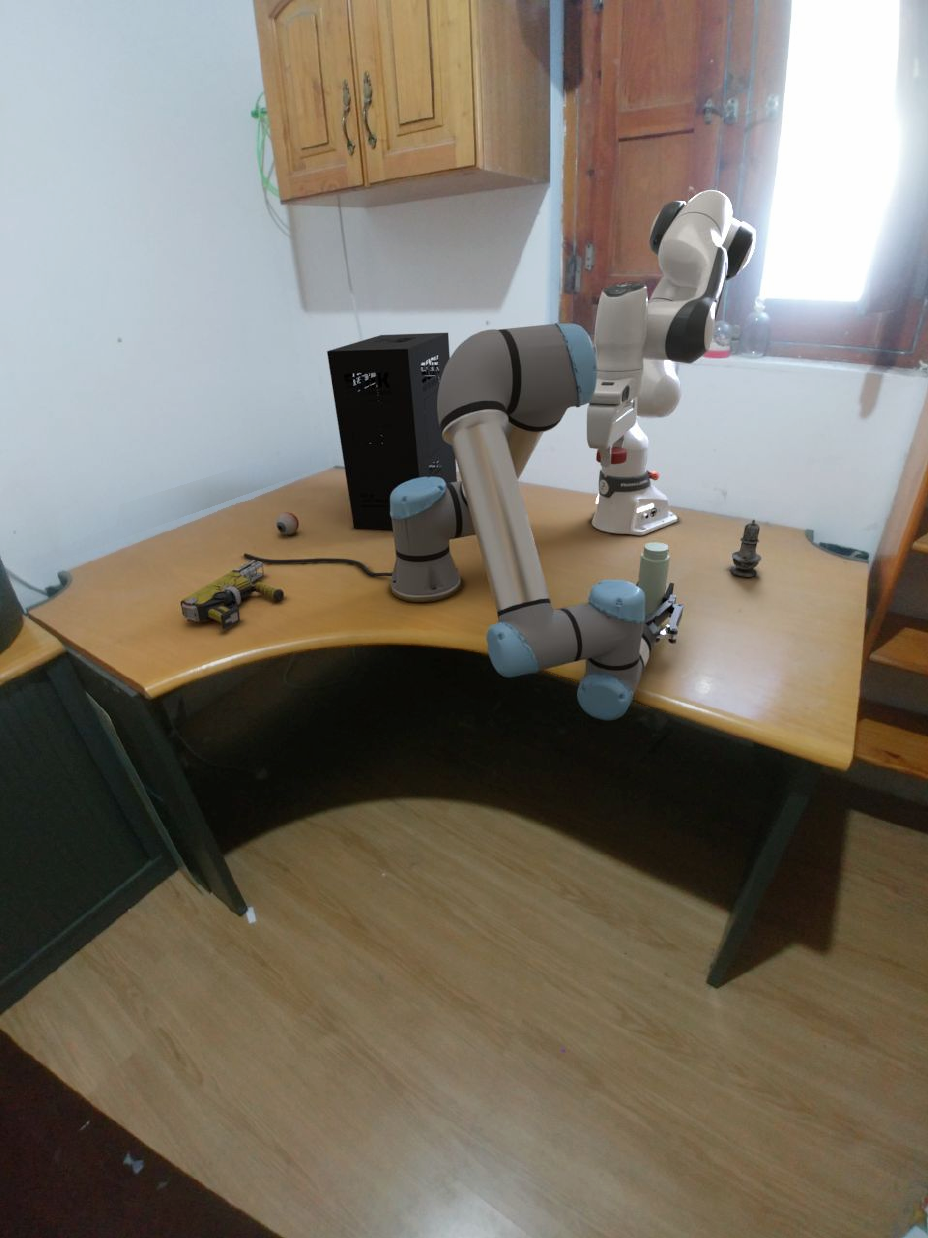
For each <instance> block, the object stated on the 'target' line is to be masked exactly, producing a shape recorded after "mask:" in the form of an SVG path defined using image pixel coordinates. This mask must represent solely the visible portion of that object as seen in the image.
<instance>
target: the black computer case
mask: <svg viewBox="0 0 928 1238" xmlns="http://www.w3.org/2000/svg"><path fill="white" fill-rule="evenodd" d="M326 354H327V360H328V369H329V373H330V380H331V387H332V393H333V400H334V406H335V415H336V420H337V426H338V427H337V428H338V433H339V439H340V440H339V441H340V448H341V454H342V460H343V466H344V472H345V478H346V486H347V493H348V500H349V506H350V511H351V520H352V525H353V529H360V530H361V529H362V530H363V529H364V530H366V529H367V530H389V531H393V526H392V518H391V516H390V496H391V493H392V491H393V490H394V489H395V488H396V487H397V486H399V485H400V484H402V483H404V482H407V481H409V480H412V479H416V478H421V477H427V478H428V477H439V478H442V479H443V480H444V481H445V483H446V484H447V483H452V482H458V478H457V477H458V475H457V462H456V458H455V454H454V450H453V447H452V445H450V444H448V443H446V442H445V441H444V439H443V437H442V433H441V429H440V425H439V421H438V412H437V397H438V390H439V385H440V381H441V377H442V374H443V371H444V369H445V366H446V364H447V362H448V360H449V359H450V357H451V354H450V341H449V332H427V333H400V334H399V333H397V334H395V333H394V334H379V335H377V336H373V337H370V338H367V339H363V340H359V341H356V342H353V343H350V344H347V345H342V346H340V347H336V348H333V349H330V350H327V351H326ZM429 361H430V362H429ZM436 363H437V364H436Z"/></svg>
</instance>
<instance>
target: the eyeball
mask: <svg viewBox="0 0 928 1238" xmlns="http://www.w3.org/2000/svg"><path fill="white" fill-rule="evenodd" d="M299 525H300V522H299V519H298V517H297V516H296V515H295V514H294V513H292V512H287V511H286V512H282V513H280V514H279V515H278V516H277V517H276V520H275V527H276V529H277V530H278V531H279V532H280V533H281V534H282V535H285V536H286V535H287V536H289V535H293V534H295V533H296V532H297V531H298V529H299Z"/></svg>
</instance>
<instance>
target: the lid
mask: <svg viewBox="0 0 928 1238" xmlns="http://www.w3.org/2000/svg"><path fill="white" fill-rule="evenodd" d="M595 455H596V456H595V457H596V458H595V460H596V462H597V463H599V464H601V456H600V452H599V449H596V454H595ZM611 456H612V464H621V463H624V462H625V461H626V458H627V450H626V449H625V448H622V447H613V446H612V449H611Z"/></svg>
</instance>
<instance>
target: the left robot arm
mask: <svg viewBox="0 0 928 1238" xmlns="http://www.w3.org/2000/svg"><path fill="white" fill-rule="evenodd" d="M594 347H595V346H594V344H593V341H592V339H591V337H590V335H589V334H588V332H587V331H586V330H585V328H583V327H582V325H580V324H576V323H560V322H554V323H549V324H539V325H529V326H520V327H519V326H518V327H510V328H501V329H500V328H499V329H496V328H495V329H494V328H493V329H485V330H482V331H479V332H476V333H474V334H472V335H470V336H468V337H467V338H466V339H464V340H463V341H462V342H461V343H460V344H459V345H458V346H457V347H456V349H455V350H454V351H453V352H452V354H451V355H450V359H449V360H448V362H447V364H446V366H445V369H444V371H443V374H442V377H441V381H440V385H439V390H438V397H437V412H438V421H439V425H440V429H441V433H442V437H443V439H444V441H445V442H446V443H448V444H450V445H452V447H453V450H454V454H455V458H456V466H457V469H458V472H459V477H460V481H459V480H457V482H452V483H447V484H446V483H445V481H444V480H443V479H442V478H439V477H428V478H427V477H421V478H416V479H412V480H409V481H407V482H404V483H402V484H400V485H399V486H397V487H396V488H395V489H394V490H393V491H392V493H391V496H390V516H391V518H392V526H393V530H392V535H393V543H394V551H395V560H394V561H395V562H394V565H393V570H392V572H375V571H370V569H369V568H367V566H366V564H364V563H362V562H360V561H358V560H354V559H350V558H334V557H333V558H332V557H331V558H329V557H325V558H324V557H319V558H299V559H297V558H296V559H294V558H293V559H291V558H290V559H268V558H262V557H259V556H258V557H257V556H256V555H255V556H254V555H252V554H249V553H246V552H245V553H244V554H243V556H244V557H246V558H247V559H251V560H255V561H256V562H257V561H260V562H262V563H270V564H293V563H294V564H296V563H297V564H298V563H300V564H301V563H321V562H325V563H329V562H330V563H349V564H353V565H356V566H359V567H361V568H362V570H363V571H364V573H367V575H370V576H372V577H391V578H390V586H391V593H392V594H393V595H394V596H395V597H396V598H398V599H399V600H402V601H405V602H411V603H432V602H437V601H438V602H439V601H441V600H444V599H447V598H449V597H451V596H453V595H454V594H456V593H457V592H458V591H459V589H460V588H461V576H460V572H459V569H458V568H457V565H456V563H455V561H454V559H453V556H452V554H451V548H450V541H451V540H455V539H460V538H461V539H462V538H467V537H472V536H475V537H476V541H477V544H478V548H479V551H480V556H481V558H482V562H483V566H484V570H485V574H486V578H487V581H488V585H489V588H490V592H491V593H490V594H491V596H492V600H493V603H494V607H495V611H496V615H497V620H498V621H497V622H496V623H494V624H491V625H490V626H489V627H488V629H487V631H486V642H487V652H488V656H489V659H490V662H491V664H492V666H493V668H494V669H495V671H496V672H497V673H498V674H499V675H501V676H502V677H505V678H508V679H511V678H514V677H521V676H524V675H530V674H531V675H534V674H537V673H538V672H541V671H546V670H548V669H552V668H555V667H556V668H557V667H559V666H563V665H568V664H570V663H576V662H579V661H580V662H581V661H584V660H585V671H584V675H583V677H581V679H580V681H579V685H578V688H577V692H576V694H577V695H576V697H577V698H576V699H577V701H578V703H579V706H580V707H581V709H582V710H583V711H584V712H585V713H586V714H588V715H589V716H591V717H593V718H594V719H598V720H601V721H614V720H617V719H619V718H621V717H623V716H624V714H625V713H626V712H627V710H628V709H629V707H630V705H631V704H632V703H633V701H634V695H635V693H636V691H637V688H638V685H639V683H640V680H641V677H642V675H643V672H644V670H645V669H646V666H647V663H648V662H649V658H650V657H651V655H652V652H653V649H654V647H655V644H657V643H658V642H660V641H661V640H667V641H668V643H670V644H676V643H677V639H678V632H679V631H678V630H679V629H678V628H679V625H680V623H681V621H682V618H683V610H684V604H683V603H679V602H678V603H676V602H677V595H676V594H674V586H675V583H673V582H669V584H668V586H667V587H666V590H665V595H664V597H663V604H662V605H661V606H660V607H659V608H658V609H657V610H656V611H654V612H653V613H652V614H651V613H650V614H649V615H647V616H646V617H645V595H644V592H643V591H642V589H641V588H639V587H638V581H637V582H636V583H633V582H631V581H627V580H623V579H605V580H601V581H598V582H597V584H594V585H593V586H592V587H591V588H590V591H589V596H588V598H587V601H588V602H585V603H581V604H576V605H571V606H568V607H563V608H557V609H554V606H553V604H552V601H551V598H550V593H549V590H548V587H547V583H546V579H545V576H544V575H545V574H544V571H543V567H542V565H541V564H542V563H541V560H540V557H539V554H538V550H537V546H536V543H535V538H534V534H533V532H532V527H531V524H530V521H529V516H528V513H527V509H526V506H525V502H524V499H523V498H524V497H523V494H522V491H521V487H520V483H519V479H520V478H521V475H522V474H523V471H524V470H525V468H526V466H527V464H528V462H529V461H530V458H531V457H532V455H533V453H534V451H535V449H536V447H537V446H538V443H539V442H540V440H541V438H542V437H543V435H544V433H546V432H548V431H550V430H552V429H554V428H555V427H556V426H558V425H559V424H560V422H561V421H562V419H563V417H564V415H566V412H567V411H568V409H569V408H573V407H575V408H581V406H585V405H587V404H589V403H588V402H589V401H590V400H591V399H592V397H593V395H594V392H595V388H596V382H597V363H596V350H595V348H594ZM668 618H669V620H668V624H667V625H665V627H664V628H663V630H661V628H660V629H659V628H658V626H659V625H661V626H662V624H663V623H664V622H665V621H666V620H667V619H668Z"/></svg>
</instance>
